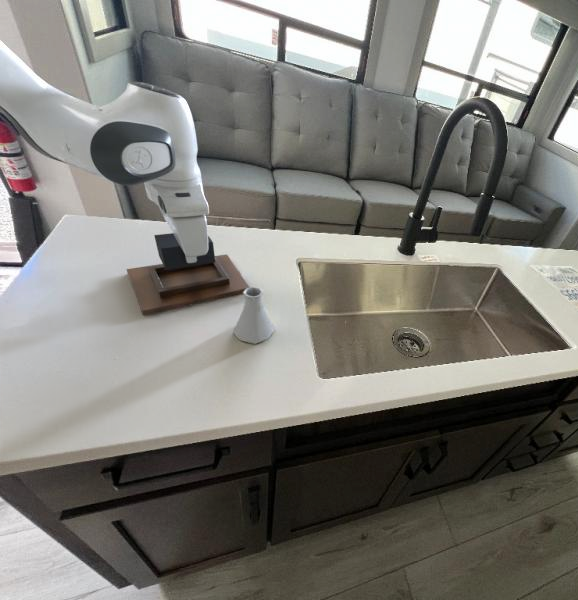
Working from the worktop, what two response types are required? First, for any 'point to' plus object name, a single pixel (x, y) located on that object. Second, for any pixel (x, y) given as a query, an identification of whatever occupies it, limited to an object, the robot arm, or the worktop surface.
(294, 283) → the worktop surface
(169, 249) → the dark gray block
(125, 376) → the worktop surface
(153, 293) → the back plate
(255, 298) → the flask
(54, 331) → the worktop surface
